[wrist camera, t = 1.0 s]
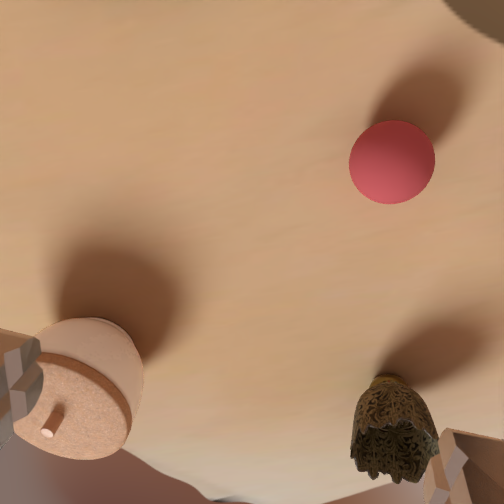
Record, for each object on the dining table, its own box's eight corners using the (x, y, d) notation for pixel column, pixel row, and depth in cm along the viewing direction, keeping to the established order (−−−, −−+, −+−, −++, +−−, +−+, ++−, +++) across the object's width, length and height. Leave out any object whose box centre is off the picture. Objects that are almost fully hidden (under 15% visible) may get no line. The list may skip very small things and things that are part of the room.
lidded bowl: (61, 273, 45) (-11, 354, 36) (179, 333, 47) (139, 426, 38) (32, 353, 52) (-36, 439, 43) (136, 403, 53) (93, 497, 44)
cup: (440, 365, 44) (458, 439, 37) (415, 417, 48) (427, 492, 41) (359, 348, 44) (362, 418, 37) (341, 401, 48) (341, 473, 41)
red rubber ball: (355, 106, 33) (358, 130, 28) (437, 115, 32) (453, 140, 28) (342, 179, 36) (342, 212, 31) (417, 189, 35) (428, 223, 31)
